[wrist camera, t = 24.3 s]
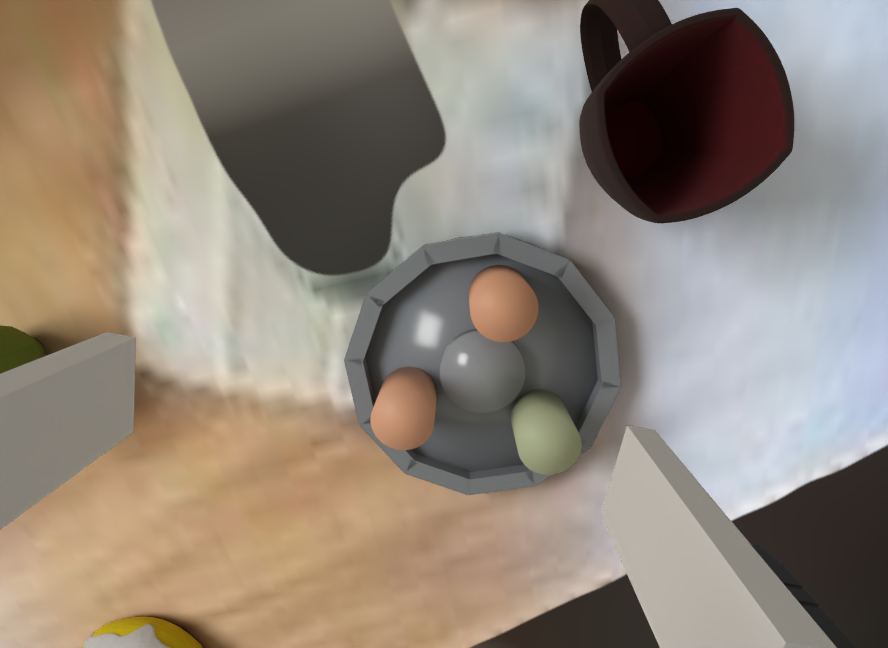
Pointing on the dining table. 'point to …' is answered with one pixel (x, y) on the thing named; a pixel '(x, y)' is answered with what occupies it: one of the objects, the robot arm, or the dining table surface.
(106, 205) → the dining table surface
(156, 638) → the donut
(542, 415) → the olive bead
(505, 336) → the terracotta bead
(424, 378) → the terracotta bead
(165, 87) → the dining table surface
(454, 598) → the dining table surface
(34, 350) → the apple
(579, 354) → the groove tray
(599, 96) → the mug
